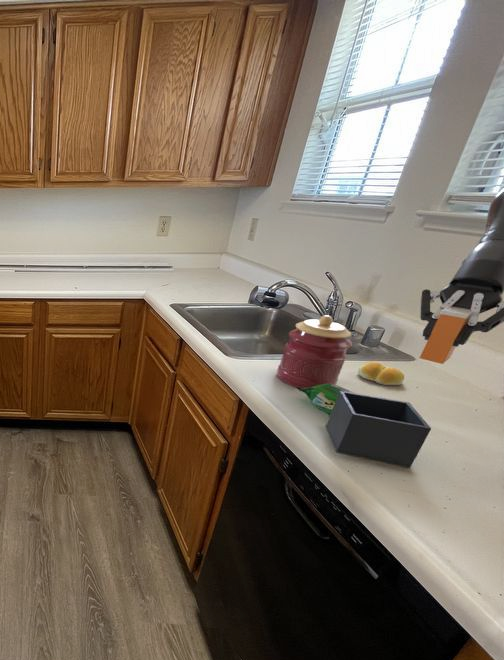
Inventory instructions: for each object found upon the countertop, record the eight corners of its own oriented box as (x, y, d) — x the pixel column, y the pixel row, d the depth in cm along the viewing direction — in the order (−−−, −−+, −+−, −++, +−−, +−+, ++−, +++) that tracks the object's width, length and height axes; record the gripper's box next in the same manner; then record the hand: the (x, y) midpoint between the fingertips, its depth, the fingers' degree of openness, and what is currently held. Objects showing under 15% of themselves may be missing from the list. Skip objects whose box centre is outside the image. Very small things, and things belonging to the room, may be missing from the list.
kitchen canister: (298, 367, 116) (319, 305, 108) (347, 387, 105) (374, 320, 97) (264, 374, 112) (283, 310, 104) (311, 395, 101) (337, 326, 93)
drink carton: (449, 358, 83) (474, 310, 79) (443, 364, 81) (468, 314, 76) (426, 352, 86) (449, 305, 81) (418, 358, 83) (441, 309, 79)
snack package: (314, 394, 102) (321, 375, 99) (386, 427, 88) (396, 406, 86) (293, 399, 99) (300, 380, 97) (364, 434, 86) (374, 412, 84)
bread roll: (394, 389, 104) (401, 375, 102) (352, 376, 111) (358, 362, 109) (407, 381, 108) (414, 367, 106) (366, 369, 115) (372, 356, 113)
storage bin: (391, 439, 84) (409, 402, 81) (410, 468, 76) (431, 428, 72) (325, 426, 89) (339, 390, 85) (336, 452, 80) (353, 414, 77)
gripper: (536, 289, 79) (489, 362, 78) (436, 275, 89) (393, 340, 88) (548, 264, 74) (498, 342, 73) (440, 252, 84) (395, 320, 83)
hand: (441, 340), depth 80 cm, fingers closed on drink carton, 3 cm apart
